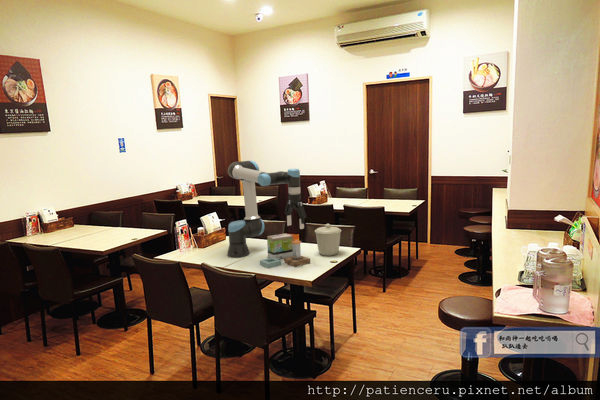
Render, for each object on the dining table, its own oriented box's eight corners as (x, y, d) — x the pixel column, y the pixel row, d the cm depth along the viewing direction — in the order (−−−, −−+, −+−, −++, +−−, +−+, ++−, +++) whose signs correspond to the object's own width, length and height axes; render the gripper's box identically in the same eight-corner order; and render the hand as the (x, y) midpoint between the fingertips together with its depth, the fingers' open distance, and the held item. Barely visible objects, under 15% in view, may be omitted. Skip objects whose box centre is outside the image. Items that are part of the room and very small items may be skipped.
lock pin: (292, 262, 257) (291, 241, 255) (297, 261, 259) (297, 240, 257) (296, 264, 253) (295, 242, 251) (302, 263, 256) (301, 241, 254)
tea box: (274, 260, 263) (273, 238, 261) (267, 257, 272) (266, 236, 270) (294, 256, 271) (293, 235, 269) (286, 253, 280) (285, 232, 278)
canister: (311, 256, 270) (310, 225, 267) (321, 249, 286) (320, 220, 283) (336, 258, 262) (335, 227, 259) (345, 251, 278) (344, 221, 275)
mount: (259, 264, 255) (259, 260, 255) (273, 261, 261) (272, 257, 260) (268, 268, 247) (267, 263, 247) (281, 265, 253) (281, 260, 252)
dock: (284, 262, 258) (284, 258, 257) (299, 259, 265) (299, 254, 264) (295, 267, 248) (294, 262, 248) (310, 263, 255) (310, 258, 254)
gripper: (278, 192, 258) (279, 224, 261) (301, 196, 238) (302, 231, 241) (288, 191, 262) (289, 223, 265) (311, 194, 242) (312, 229, 245)
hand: (295, 227), depth 253 cm, fingers open, 13 cm apart
